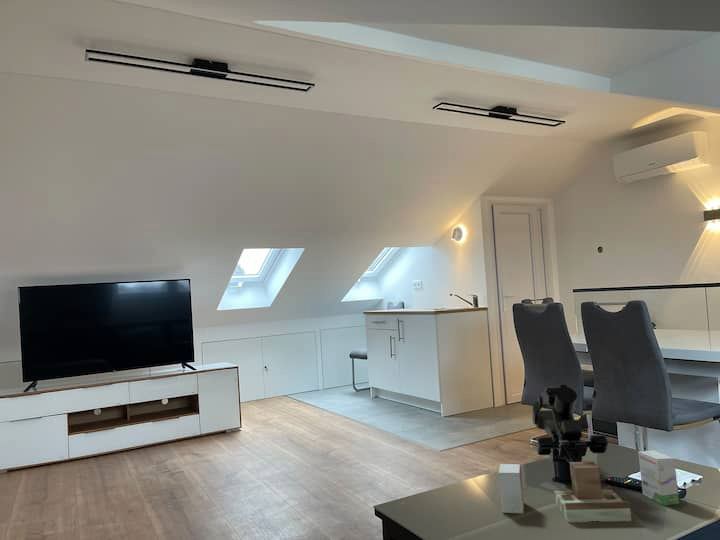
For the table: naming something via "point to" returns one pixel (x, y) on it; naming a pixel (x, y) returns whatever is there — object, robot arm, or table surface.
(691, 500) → the table surface
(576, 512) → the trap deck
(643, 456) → the ink box
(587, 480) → the walnut block
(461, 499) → the table surface
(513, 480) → the small box
